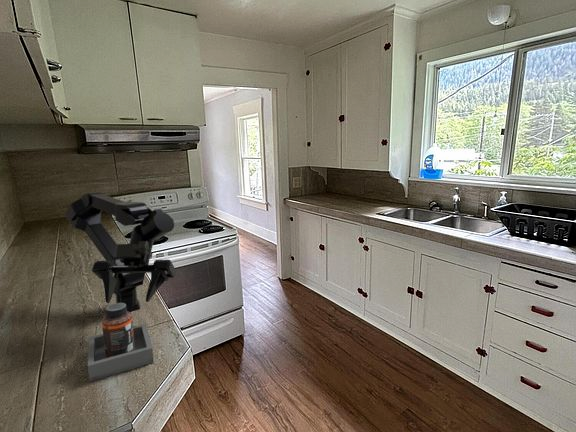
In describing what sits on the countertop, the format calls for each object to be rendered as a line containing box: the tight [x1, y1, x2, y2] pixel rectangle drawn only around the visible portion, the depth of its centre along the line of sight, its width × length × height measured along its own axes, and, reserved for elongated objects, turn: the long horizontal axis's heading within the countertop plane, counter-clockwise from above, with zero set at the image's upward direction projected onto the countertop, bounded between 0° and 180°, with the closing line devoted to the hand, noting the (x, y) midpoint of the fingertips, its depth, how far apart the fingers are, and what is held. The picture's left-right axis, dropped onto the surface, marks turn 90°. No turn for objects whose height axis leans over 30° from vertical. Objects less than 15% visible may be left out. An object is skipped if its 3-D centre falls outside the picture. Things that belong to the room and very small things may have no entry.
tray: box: [87, 323, 154, 382], centre depth 71 cm, size 12×12×4 cm
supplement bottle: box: [101, 302, 135, 358], centre depth 70 cm, size 6×6×11 cm
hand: (127, 302), depth 75 cm, fingers open, 9 cm apart
